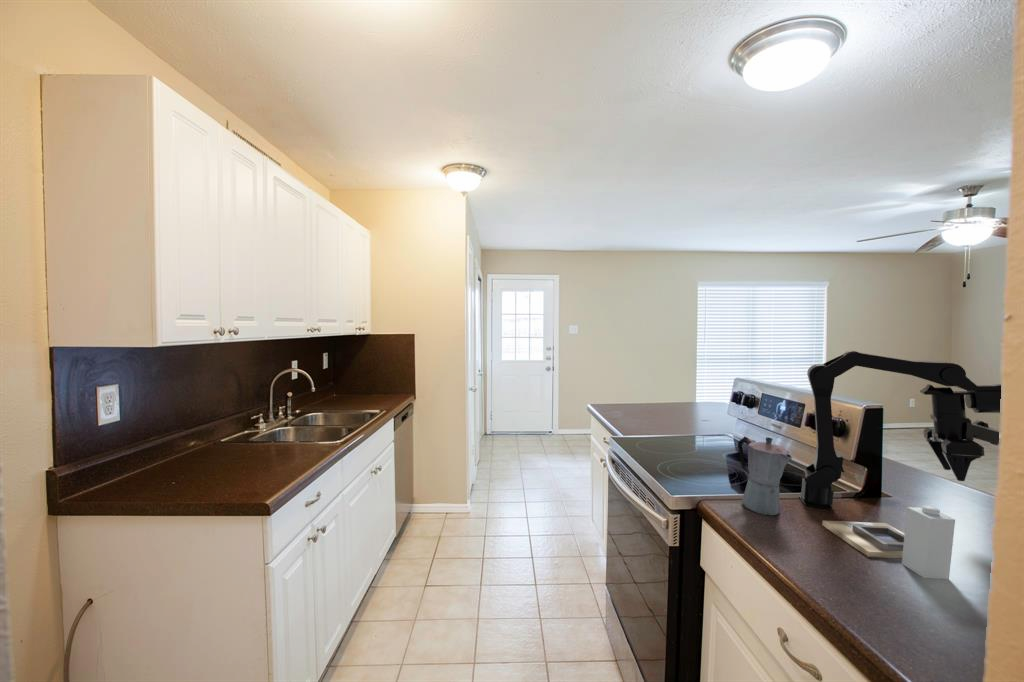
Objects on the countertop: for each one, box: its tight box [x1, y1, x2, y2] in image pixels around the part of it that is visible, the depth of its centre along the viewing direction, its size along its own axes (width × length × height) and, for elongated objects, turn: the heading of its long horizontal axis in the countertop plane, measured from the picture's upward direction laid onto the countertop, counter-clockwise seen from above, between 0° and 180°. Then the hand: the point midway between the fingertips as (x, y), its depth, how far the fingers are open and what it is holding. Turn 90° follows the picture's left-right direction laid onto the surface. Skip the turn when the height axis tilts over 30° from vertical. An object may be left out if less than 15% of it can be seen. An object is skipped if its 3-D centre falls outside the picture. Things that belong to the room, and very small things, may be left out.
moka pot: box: [737, 436, 793, 516], centre depth 115 cm, size 10×15×20 cm, turn 27°
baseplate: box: [821, 520, 905, 559], centre depth 99 cm, size 14×16×3 cm
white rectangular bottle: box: [901, 505, 956, 580], centre depth 87 cm, size 5×5×14 cm
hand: (953, 475), depth 104 cm, fingers open, 9 cm apart
